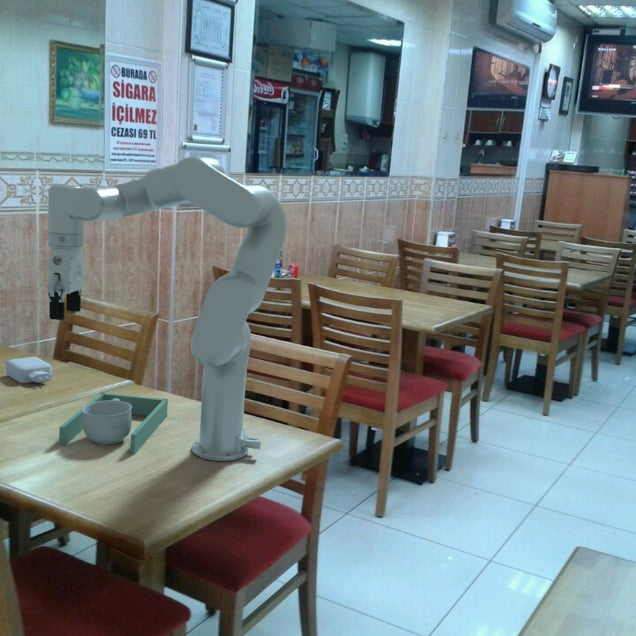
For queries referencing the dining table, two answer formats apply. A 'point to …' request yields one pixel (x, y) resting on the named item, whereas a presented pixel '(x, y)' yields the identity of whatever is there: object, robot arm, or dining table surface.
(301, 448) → the dining table surface
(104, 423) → the teacup
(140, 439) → the green u-shaped border
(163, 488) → the dining table surface
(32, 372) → the charger
